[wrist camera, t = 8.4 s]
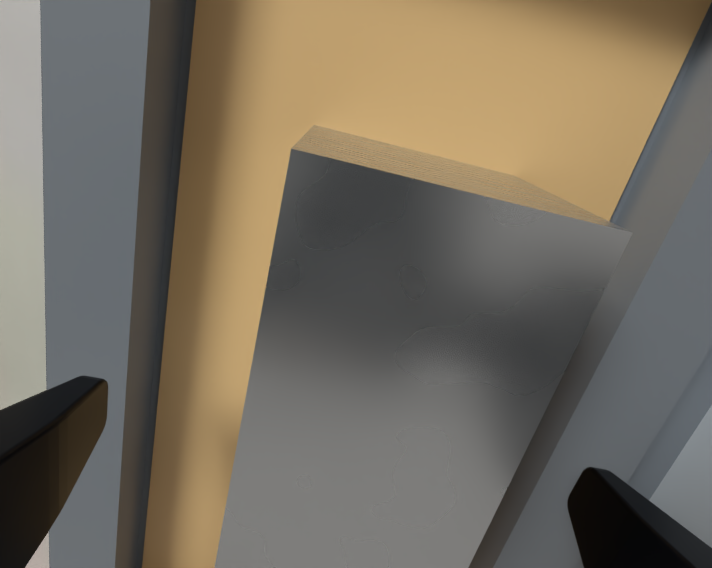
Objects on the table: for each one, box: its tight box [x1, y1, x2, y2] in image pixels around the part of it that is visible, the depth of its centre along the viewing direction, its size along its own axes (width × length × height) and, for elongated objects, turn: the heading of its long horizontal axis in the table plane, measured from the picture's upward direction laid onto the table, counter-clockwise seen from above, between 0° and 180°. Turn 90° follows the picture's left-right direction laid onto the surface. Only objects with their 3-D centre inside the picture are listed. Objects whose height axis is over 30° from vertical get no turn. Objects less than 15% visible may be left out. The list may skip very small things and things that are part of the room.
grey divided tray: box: [40, 0, 712, 568], centre depth 10 cm, size 23×21×5 cm
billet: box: [214, 125, 633, 568], centre depth 9 cm, size 4×10×4 cm, turn 166°
